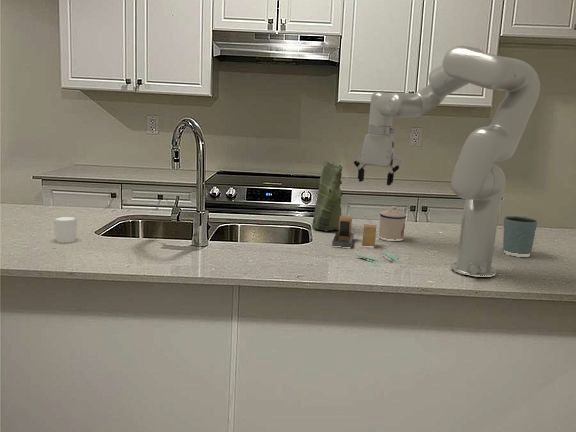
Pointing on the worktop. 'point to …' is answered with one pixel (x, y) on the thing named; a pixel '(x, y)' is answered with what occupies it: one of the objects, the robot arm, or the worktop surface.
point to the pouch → (328, 199)
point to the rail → (344, 232)
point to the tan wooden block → (369, 235)
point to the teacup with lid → (392, 224)
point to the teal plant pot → (519, 234)
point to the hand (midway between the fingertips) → (374, 183)
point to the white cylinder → (65, 229)
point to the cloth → (391, 256)
